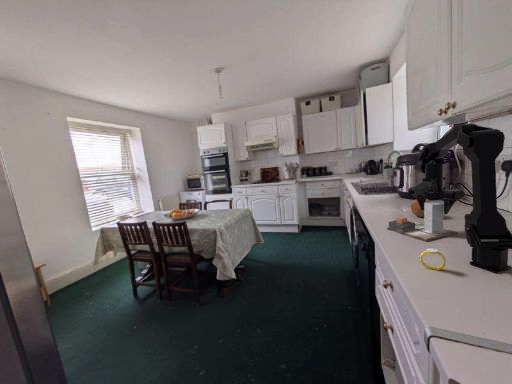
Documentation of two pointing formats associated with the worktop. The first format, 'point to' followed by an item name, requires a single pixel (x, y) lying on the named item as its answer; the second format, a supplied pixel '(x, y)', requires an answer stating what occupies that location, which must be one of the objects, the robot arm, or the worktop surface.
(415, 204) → the onion
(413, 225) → the square tray
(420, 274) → the worktop surface
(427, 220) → the skincare box
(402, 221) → the button
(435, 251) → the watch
